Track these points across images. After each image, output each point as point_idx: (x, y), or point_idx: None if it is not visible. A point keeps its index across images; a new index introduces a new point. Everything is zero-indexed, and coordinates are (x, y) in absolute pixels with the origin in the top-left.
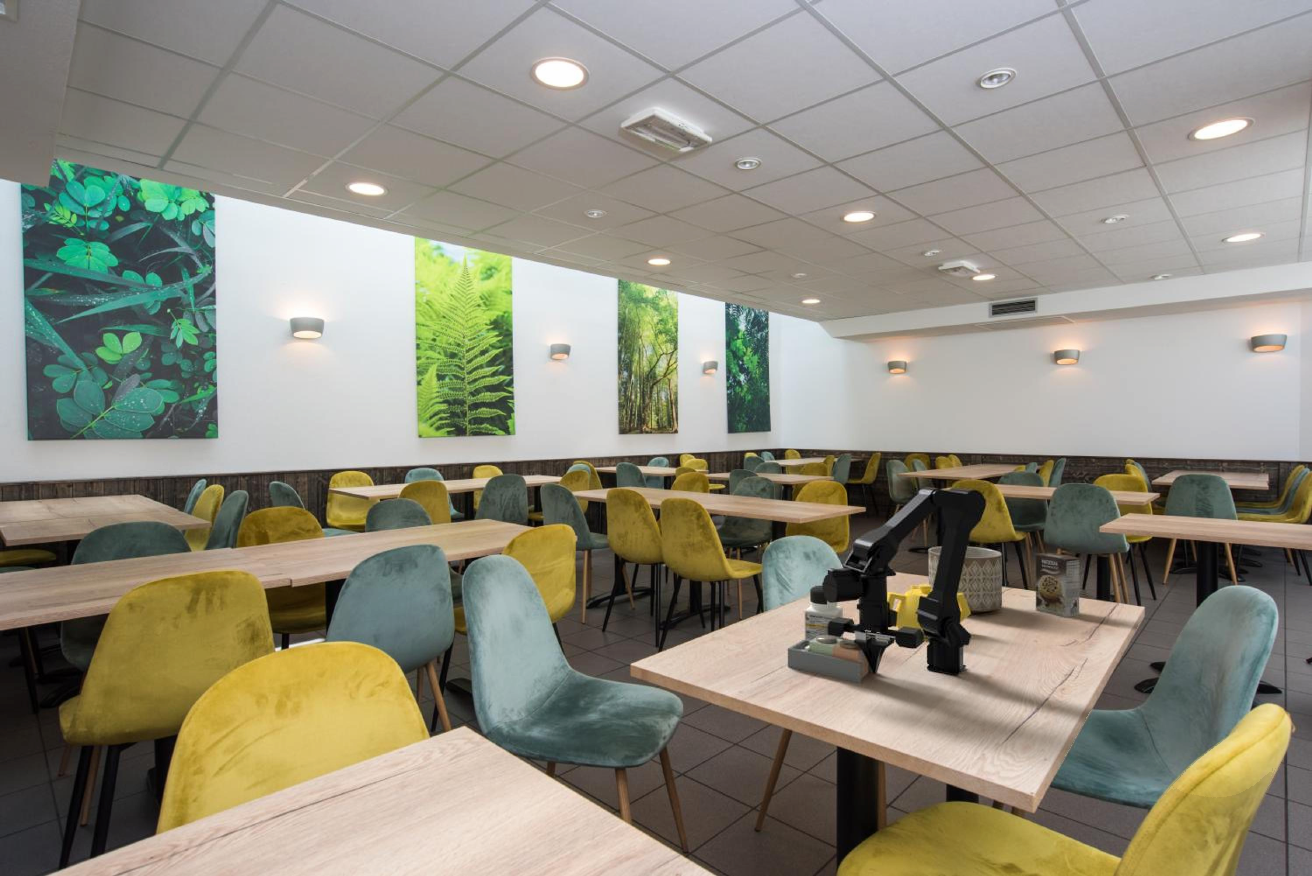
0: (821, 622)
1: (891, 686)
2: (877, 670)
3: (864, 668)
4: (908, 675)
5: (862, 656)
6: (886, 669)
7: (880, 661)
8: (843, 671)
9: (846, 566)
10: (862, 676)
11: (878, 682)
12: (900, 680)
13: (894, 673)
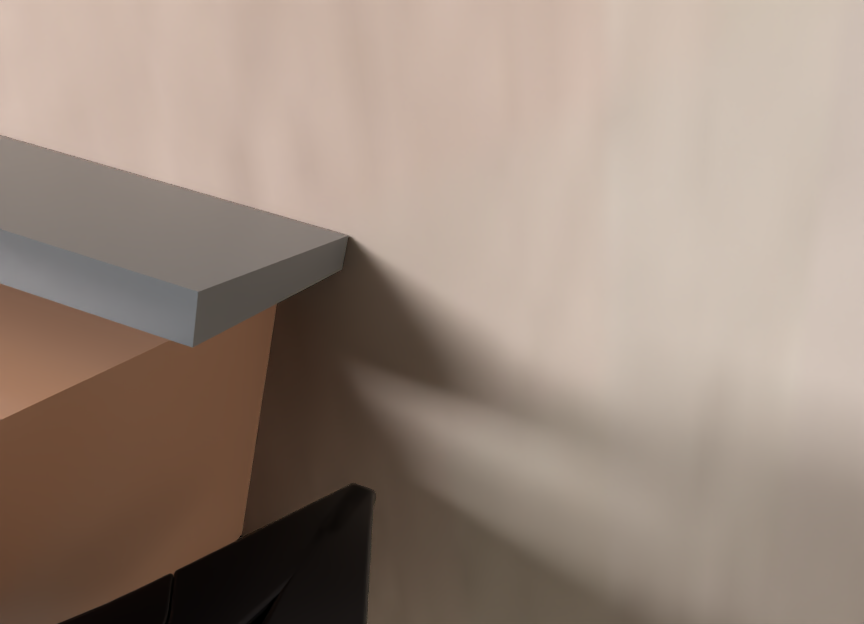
0: None
1: (562, 620)
2: (371, 511)
3: (215, 428)
4: (798, 195)
5: (66, 619)
6: (469, 53)
7: (366, 596)
8: None
9: None
10: (250, 446)
11: (424, 543)
12: (666, 427)
13: (588, 186)
